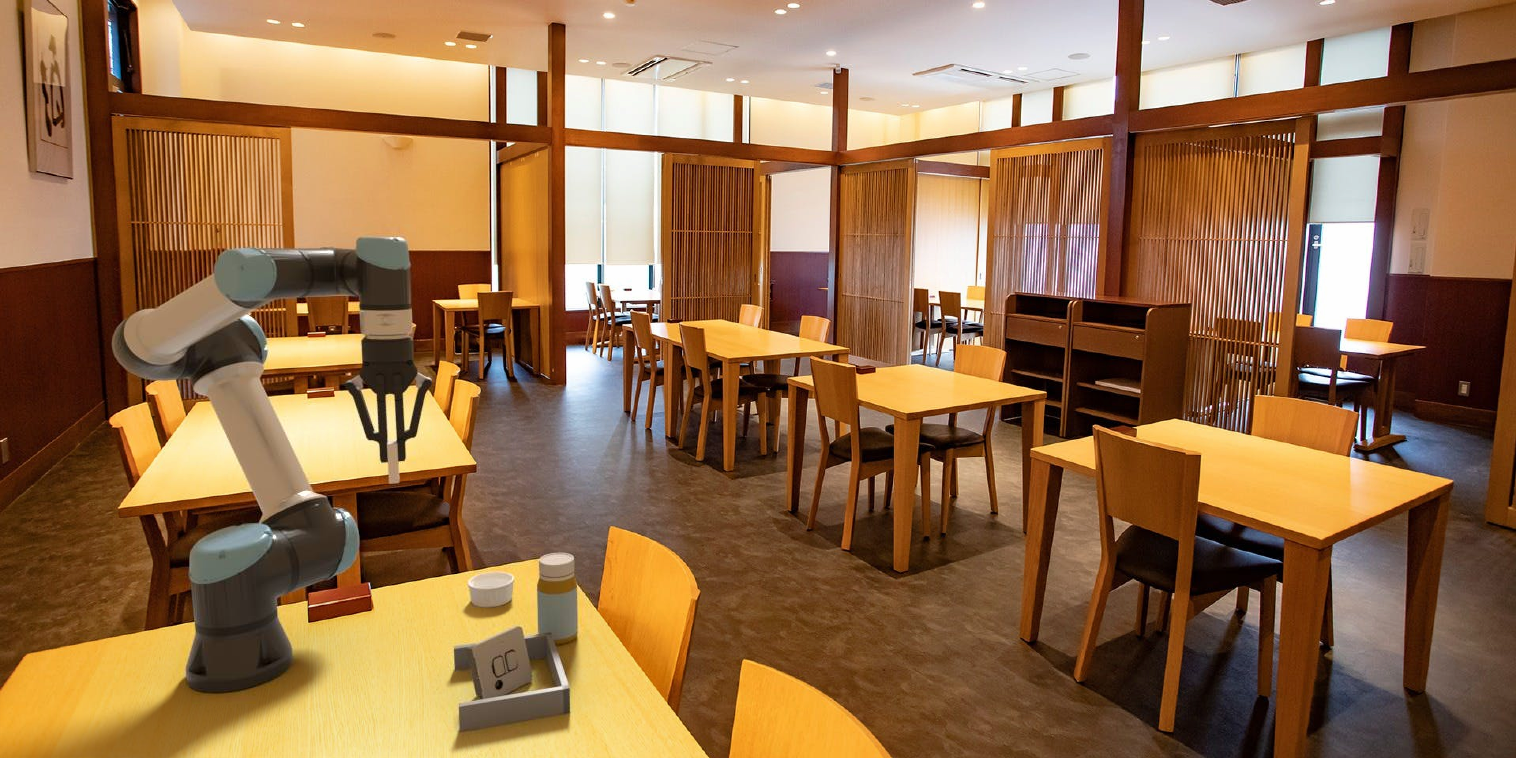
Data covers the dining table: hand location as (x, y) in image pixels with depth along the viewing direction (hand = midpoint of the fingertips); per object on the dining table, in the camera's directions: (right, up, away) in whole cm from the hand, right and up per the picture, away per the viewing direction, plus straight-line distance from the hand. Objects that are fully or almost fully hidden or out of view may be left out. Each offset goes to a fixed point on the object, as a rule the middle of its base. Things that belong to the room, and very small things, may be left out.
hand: (394, 481), depth 139 cm
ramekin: (+6, -28, +33) cm, 44 cm away
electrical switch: (+17, -34, -1) cm, 38 cm away
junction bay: (+19, -33, -1) cm, 38 cm away
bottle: (+23, -31, +17) cm, 42 cm away
